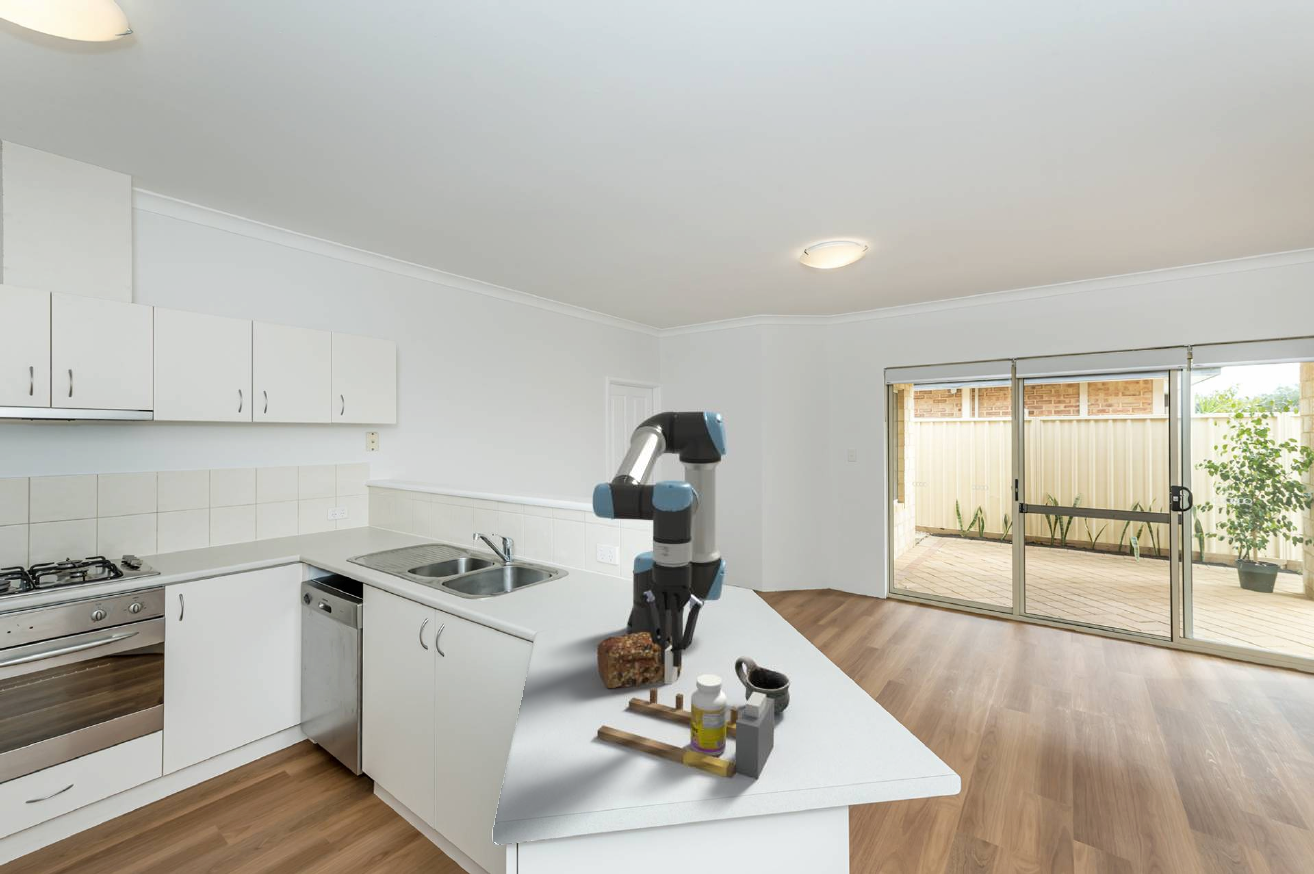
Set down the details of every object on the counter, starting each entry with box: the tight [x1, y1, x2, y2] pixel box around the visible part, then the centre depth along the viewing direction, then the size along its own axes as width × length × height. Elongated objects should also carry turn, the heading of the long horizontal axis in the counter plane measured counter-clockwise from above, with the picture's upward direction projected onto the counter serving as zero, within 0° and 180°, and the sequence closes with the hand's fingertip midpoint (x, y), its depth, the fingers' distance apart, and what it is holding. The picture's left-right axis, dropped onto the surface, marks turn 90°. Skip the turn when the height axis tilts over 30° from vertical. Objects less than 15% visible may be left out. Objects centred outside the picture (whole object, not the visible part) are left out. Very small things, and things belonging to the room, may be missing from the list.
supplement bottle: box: [690, 674, 728, 757], centre depth 103 cm, size 7×7×13 cm
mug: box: [734, 655, 791, 716], centre depth 118 cm, size 10×12×10 cm
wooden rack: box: [596, 686, 739, 779], centre depth 107 cm, size 27×16×4 cm, turn 64°
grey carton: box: [733, 692, 775, 780], centre depth 100 cm, size 4×11×11 cm, turn 154°
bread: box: [596, 632, 683, 690], centre depth 133 cm, size 19×11×10 cm, turn 110°
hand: (671, 680), depth 108 cm, fingers closed
